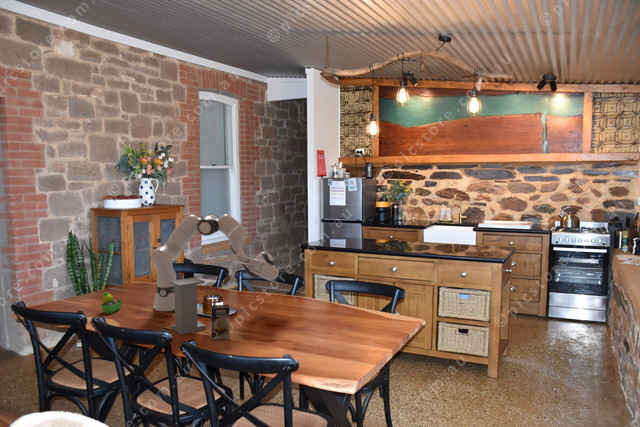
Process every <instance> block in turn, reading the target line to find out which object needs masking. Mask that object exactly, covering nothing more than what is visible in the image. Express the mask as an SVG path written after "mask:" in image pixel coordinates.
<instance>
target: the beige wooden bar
mask: <svg viewBox="0 0 640 427" xmlns="http://www.w3.org/2000/svg"><path fill="white" fill-rule="evenodd" d="M239 256H243V257H244V254H242V253H241V254H227V255H219V256H211V257H210V256H209V257H203V258H202V264H203V265H213V264H219V263H220V264H221V263H227V262H228V263H229V262H237V261H236V260H241V259H239Z"/></svg>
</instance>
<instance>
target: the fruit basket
mask: <svg viewBox="0 0 640 427" xmlns="http://www.w3.org/2000/svg"><path fill="white" fill-rule="evenodd" d="M102 300H103V303H101V304H100V307H101V309H102V312H103V313H104V314H112V313H114V312H117V311H118V310H120V309H121V306H122V303H123V300H120V299H119V300H118V299H114V296H113V295H112V294H110V293H109V292H107V291H106V292H104V293H103V297H102Z"/></svg>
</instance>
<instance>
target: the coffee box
mask: <svg viewBox="0 0 640 427" xmlns="http://www.w3.org/2000/svg"><path fill="white" fill-rule="evenodd" d="M230 309H231V308H230V305H229V304H217V305H216V304H215V305H210V326H211V327H210V337H211V340H212V341H213V340H214V341H215V340H227V339H231V334H230V333H231V326H230V325H231V324H230V322H231V320H230V319H231V318H230V316H231V315H230V312H231V311H230Z"/></svg>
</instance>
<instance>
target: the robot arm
mask: <svg viewBox="0 0 640 427" xmlns="http://www.w3.org/2000/svg"><path fill="white" fill-rule="evenodd" d="M198 232H199V234H200V235H202V236H211V235H213V234H215V233H217V232H221V233H222V234H223V235H225V237H226V238H227V239H228V240H229V242H230V249H231V251H232V252H233V253H234V254H241V253H242V254H244V257H243V256H239V259H241V260H236V261H235V262H238V263H240V264H241V265H242V266H243V268H244V270H245V271H246V274H248V276H249V277H250V278H253V279H255V278H260V277H261V278H262V279H264V280H267V281H270V282H271V281H272V282H273V281H275V280H276V279H277V278H278V276H279V274H280V271H279V269H278V268H277V267H276V266H275V261H274V259H275V258H274V256H273V254H271V253H270V252H269V251H265V250H264V251H263V250H262V252H260V253H259V254H258V255H256V257H254V258H252V257H248V256H247V255H246V254H245V252H244V251H243V246H244V243H245V240H246V239H247V238H246V237H247V231H246V229H245V227H244V226H243V225H242V224H241V223H240V222H239V221H238V220H236V218H234V217H233V216H232V215H231V214H228V213H227V214H225V213H224V214H222V215H220V216H218V215H216V214H213V213H208V214H207V215H204V216H201V217H198V216H197V215H194V214H189V215H188V216H186V217H185V218H183V220H181V221H180V223H179V224H177V226H176V227H175V228H174V230H172V232H171V233H170V235H169V237H168V239H167V241H166V242H165V243H164V244H163V245H162V246H158V247H157V248H155V249H154V250H153V251H152V252H151V255H150V259H151V260H150V261H151V262H152V263H153V264H154V268H155V272H156V289H155V290H156V293H155V295H154V303H153V304H154V305H153V306H152V309H154V310H155V311H157V312H172V311H175V295H174V285H173V284H171V283H170V281H174V280H177V274H176V273H177V272H176V271H175V269H174V264H173V262H174V261H176V260H177V259H178V258H179V256H180V255H181V253H182V252H183V250H184V248H186V246H187V244H188V243H189V242H190V241H191V240H192V239H193V237H194V236H195V235H196V234H197V233H198Z"/></svg>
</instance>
